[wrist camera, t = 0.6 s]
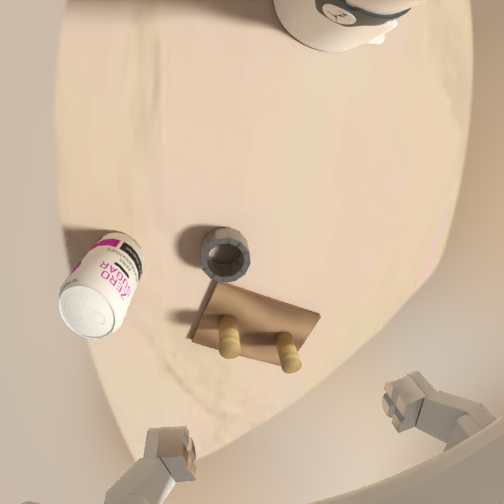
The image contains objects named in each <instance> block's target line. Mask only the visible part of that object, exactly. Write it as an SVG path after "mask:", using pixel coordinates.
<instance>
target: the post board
mask: <svg viewBox="0 0 504 504" xmlns="http://www.w3.org/2000/svg"><path fill="white" fill-rule="evenodd" d="M319 319H320V315H319V313H315V312H312V311H309V310H306V309H303V308H300V307H297V306H294V305H291V304H288V303H285V302H281V301H278V300H275V299H272V298H269V297H266V296H263V295H260V294H257V293H254V292H252V291H249V290H246V289H243V288H240V287H237V286H234V285H231V284H228V283H222V282H219V281H217V283H216V286H215V288H214V290H213V292H212V294H211V297H210V299H209V301H208V303H207V306H206V308H205V310H204V312H203V314H202V317H201V319H200V321H199V323H198V326H197V328H196V330H195V332H194V335H193V337H192V342H193V343H197V344H200V345H203V346H207V347H210V348H214V349H217V350H219V352H220V355H221V356H222V357H224V358H227V359H233V358H236V357H237V356H243V357H247V358H250V359H254V360H258V361H262V362H266V363H271V364H275V365H279V366H281V367H282V370H283V371H284V372H285V373H294V372H297V371H298V370H299V369H300V368H301V361H300V358H299V355H298V351H299V349H300V348H301V346H302V345H303V343H304V342H305V340H306V339H307V337H308V336H309V334H310V333H311V331H312V330H313V328H314V327H315V325H316V324H317V322H318V320H319Z"/></svg>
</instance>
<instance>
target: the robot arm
mask: <svg viewBox="0 0 504 504" xmlns="http://www.w3.org/2000/svg"><path fill="white" fill-rule="evenodd" d="M425 1H427V0H273V2H274V7H275V11H276V14H277V16H278V18H279V20H280V22H281V23H282V25H283V26H284V27H285V29H286V30H287V31H288V32H289V33H290V34H291V35H292V36H293V37H295V38H296V39H297V40H299V41H300V42H302V43H304V44H305V45H307V46H310V47H312V48H315V49H318V50H321V51H327V52H343V51H347V50H351V49H353V48H355V47H358V46H360V45H379V44H381V43H382V42H383V41H384V38H385V33H386V32H388V31H389V30H391V29H393V28H394V27H396V25H397V22H396V21H397V19H398V18H400V17H401V16H403V15H404V14H405V13H407V12H408V11H409V10H410V9H411V8H412V7H413V6H416V5H418V4H420V3H423V2H425ZM384 390H385V391H386V393H385V394H384V396H383V400H382V404H383V409H384V411H385V413H386V415H387V416H389V417H391V418H393V420H392V424H393V425H394V427H395V429H396V430H397V432H398V433H400V432H402V431H405V430H408V429H410V428H413V427H415V426H416V428H418V429H420V430H422V431H424V432H426V433H428V434H430V435H431V436H433V437H435V438H437V439H439V440H441V441H443V442H445V443H447V444H446V447H445V448H444V450H443V453H441V454H439V455H437V456H435V457H433V458H431V459H429V460H428V461H425V462H423V463H421V464H419V465H417V466H415V467H413V468H410V469H408V470H406V471H403V472H401V473H399V474H396V475H394V476H392V477H389V478H387V479H384V480H382V481H379V482H376V483H374V484H371V485H368V486H366V487H363V488H360V489H357V490H354V491H351V492H348V493H345V494H342V495H338V496H335V497H331V498H328V499H325V500H321V501H317V502H313V503H309V504H504V415H502V416H501V417H500V418H498V419H496V418H495V417H494V416H493V415H492V414H491V413H490V412H489V411H488V409H486V407H485V406H484V405H483V404H481V403H478V402H474V401H471V400H467V399H464V398H461V397H457V396H454V395H451V394H448V393H445V392H442V391H438V392H437V391H436V390H435V389H434V388H433V387H432V386H431V385H430V384H429V382H427V380H426V379H425V378H424V377H423V376H422V375H421V374H420V372H418V371H415V372H412V373H410V374H407V375H404V376H402V377H399V378H397V379H394V380H391V381H389V382H386V384H385V387H384ZM195 460H196V452H195V446H194V443H193V440H192V438H190V437H189V431H188V429H187V427H186V426H180V427H161V428H149V430H148V431H147V437H146V444H145V450H144V457H143V458H140V459H139V460H138V461H137V462H136V463H135V464H134V465H133V466H132V467H131V468H130V469H129V470H128V471H127V472H126V473H125V474H124V475H123V476H122V477H121V478H120V479H119V480H118V481H117V482H116V483H115V484H114V485H113V486H112V487H111V488H110V489H109V490H108V491H107V492H106V497H105V502H104V504H162V502H163V501H164V499H165V498H166V496H167V495H168V494H169V492H170V491H171V489H172V488H173V486H174V485H175V482H180V481H194V480H196V467H195V465H194V463H193V462H194V461H195ZM22 504H39V503H36V502H31V501H27V502H24V503H22Z"/></svg>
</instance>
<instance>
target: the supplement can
mask: <svg viewBox="0 0 504 504" xmlns="http://www.w3.org/2000/svg"><path fill="white" fill-rule="evenodd" d="M144 267H145V255H144V253H143V250H142V247H141V246H140V245H139V244H138V243H137V241H136V240H135V239H133V238H132V237H130V236H128V235H127V234H122V233H118V232H116V233H108V234H107V235H105V236H103V237H101V238H100V239H99V240H98V242H97V243H96V244H95V245H94V246H93V247H92V249H91V250H90V251H89V252H88V253H87V254H86V256H85V257H84V258H83V259H82V260H81V262H80V263H79V264H78V265H77V267H76V268H75V269H74V270H73V271H72V273H71V274H70V275H69V277H68V278H67V279H66V280H65V282H64V283H63V285H62V286H61V289H60V294H59V310H60V314H61V316H62V318H63V320H64V322H65V323H66V324H67V325H68V326H69V327H70V328H71V329H72V330H73V331H74V332H75V333H77V334H79V335H80V336H82V337H86V338H89V339H102V338H104V337H107V336H108V335H109V334H110V333H113V332H115V331H116V330H117V329H118V328H119V327H120V326H121V325H122V322H123V320H124V317H125V314H126V312H127V309H128V307H129V304H130V302H131V299H132V297H133V294H134V292H135V290H136V287H137V285H138V282H139V280H140V278H141V275H142V273H143V270H144Z"/></svg>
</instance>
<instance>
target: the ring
mask: <svg viewBox="0 0 504 504" xmlns="http://www.w3.org/2000/svg"><path fill="white" fill-rule="evenodd" d="M226 243H229V244H232V245H234V246H237V247H238V248H239V249H240V251H241V254H240V256H239V258H238V259H237V260H235V261H234V262H232V263H230V264H223V265H222V264H220V263H217V262H214V261H213V260H212V258H211V257H210V256H209V252H210V250H211V249H213V248H214V247H215V246H217V245H218V244H226ZM200 259H201V264H202V270H203V271H204V272H205V273H206V274H207V275H208V276H209V277H210V279H213V280H216V281H219V282H222V283H225V282H232V281H236V280H237V279H239V278H240V277H242V276H243V275H245V273H246V271H247V269H248V267H249V265H250V255H249V249H248V245H247V241H246V239H245V238H244V237H243V236H242V234H241V233H240V232H239V231H237V230H234V229H232V228H229V227H224V228H216V229H214V230H213V231H212V232H210V233H209V234H208V235H206V237H205V239H204V242H203V244H202V247H201V257H200Z"/></svg>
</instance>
